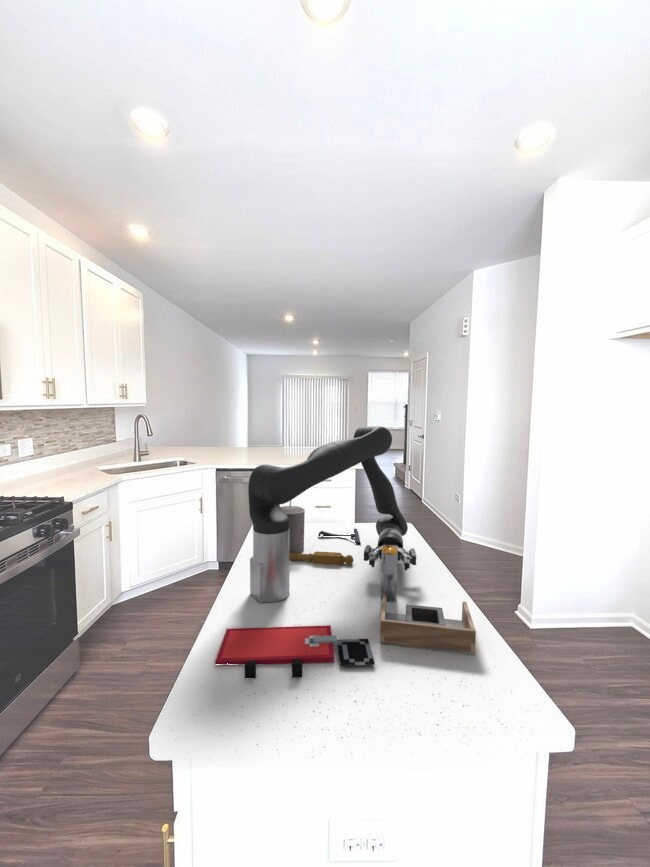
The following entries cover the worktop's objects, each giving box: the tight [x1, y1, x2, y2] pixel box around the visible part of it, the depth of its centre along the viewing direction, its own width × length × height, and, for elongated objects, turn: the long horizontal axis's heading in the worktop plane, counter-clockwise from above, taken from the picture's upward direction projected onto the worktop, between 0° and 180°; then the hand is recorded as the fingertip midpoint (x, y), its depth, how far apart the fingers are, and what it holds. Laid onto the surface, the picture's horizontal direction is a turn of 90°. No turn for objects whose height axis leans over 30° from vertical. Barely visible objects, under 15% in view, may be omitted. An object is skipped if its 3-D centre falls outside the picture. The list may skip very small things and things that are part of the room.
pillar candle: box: [280, 505, 306, 554], centre depth 133 cm, size 10×10×15 cm
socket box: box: [379, 594, 477, 656], centre depth 86 cm, size 12×19×5 cm, turn 79°
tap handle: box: [289, 551, 354, 566], centre depth 124 cm, size 3×3×30 cm
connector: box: [380, 545, 398, 603], centre depth 101 cm, size 4×4×13 cm
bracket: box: [317, 528, 361, 545], centre depth 146 cm, size 14×15×3 cm
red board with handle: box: [214, 624, 376, 679], centre depth 80 cm, size 30×3×15 cm
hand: (389, 565), depth 105 cm, fingers open, 8 cm apart
